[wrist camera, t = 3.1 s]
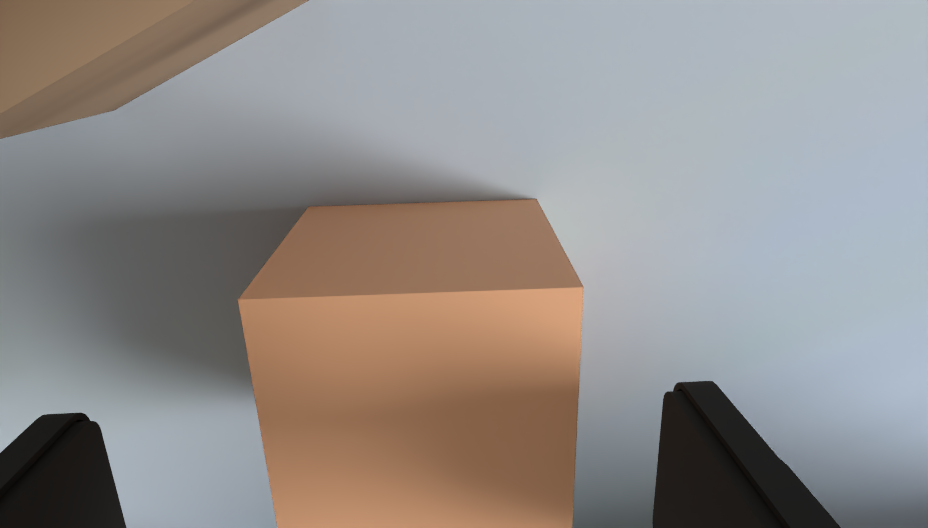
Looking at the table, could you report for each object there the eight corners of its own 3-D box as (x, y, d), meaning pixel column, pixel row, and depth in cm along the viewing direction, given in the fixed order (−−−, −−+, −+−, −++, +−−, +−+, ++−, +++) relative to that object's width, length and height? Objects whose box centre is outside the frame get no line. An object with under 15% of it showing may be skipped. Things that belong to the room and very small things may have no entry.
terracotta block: (309, 205, 14) (237, 300, 9) (536, 198, 14) (583, 287, 9) (332, 400, 15) (283, 562, 11) (533, 391, 15) (571, 550, 11)
